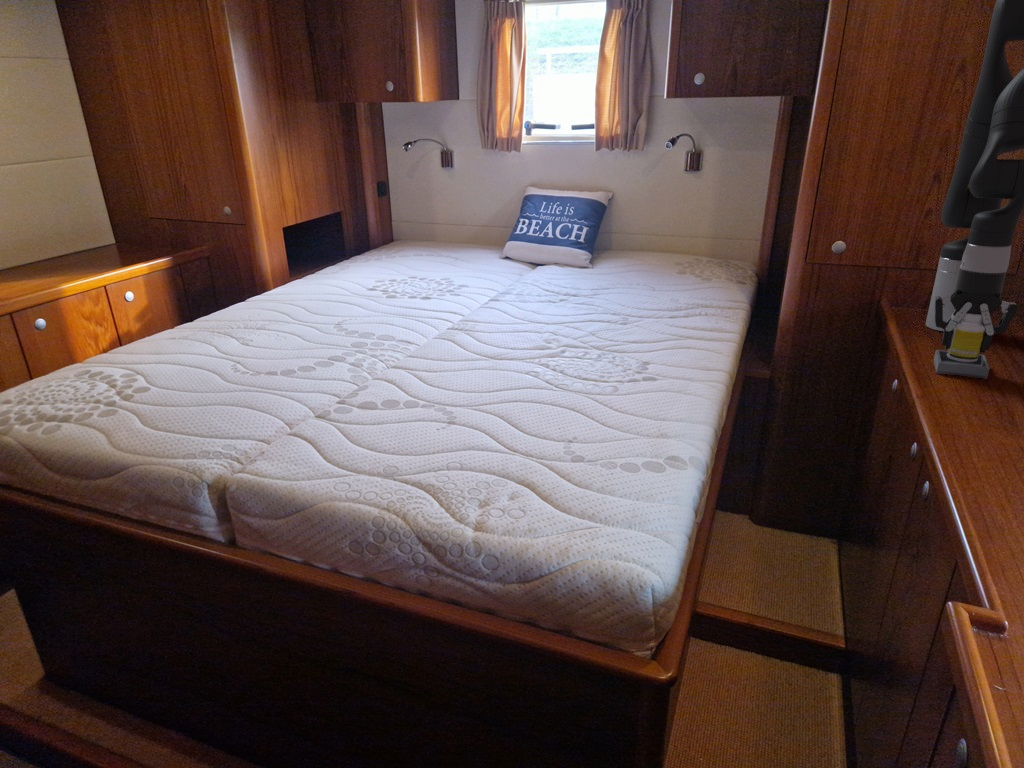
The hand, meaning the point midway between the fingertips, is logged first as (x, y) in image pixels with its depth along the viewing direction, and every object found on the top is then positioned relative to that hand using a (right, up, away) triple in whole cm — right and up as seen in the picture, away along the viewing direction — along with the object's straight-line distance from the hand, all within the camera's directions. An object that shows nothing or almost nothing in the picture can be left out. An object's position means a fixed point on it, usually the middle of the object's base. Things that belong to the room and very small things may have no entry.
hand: (963, 349), depth 135 cm
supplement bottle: (0, -2, +1) cm, 2 cm away
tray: (0, -4, +2) cm, 4 cm away
